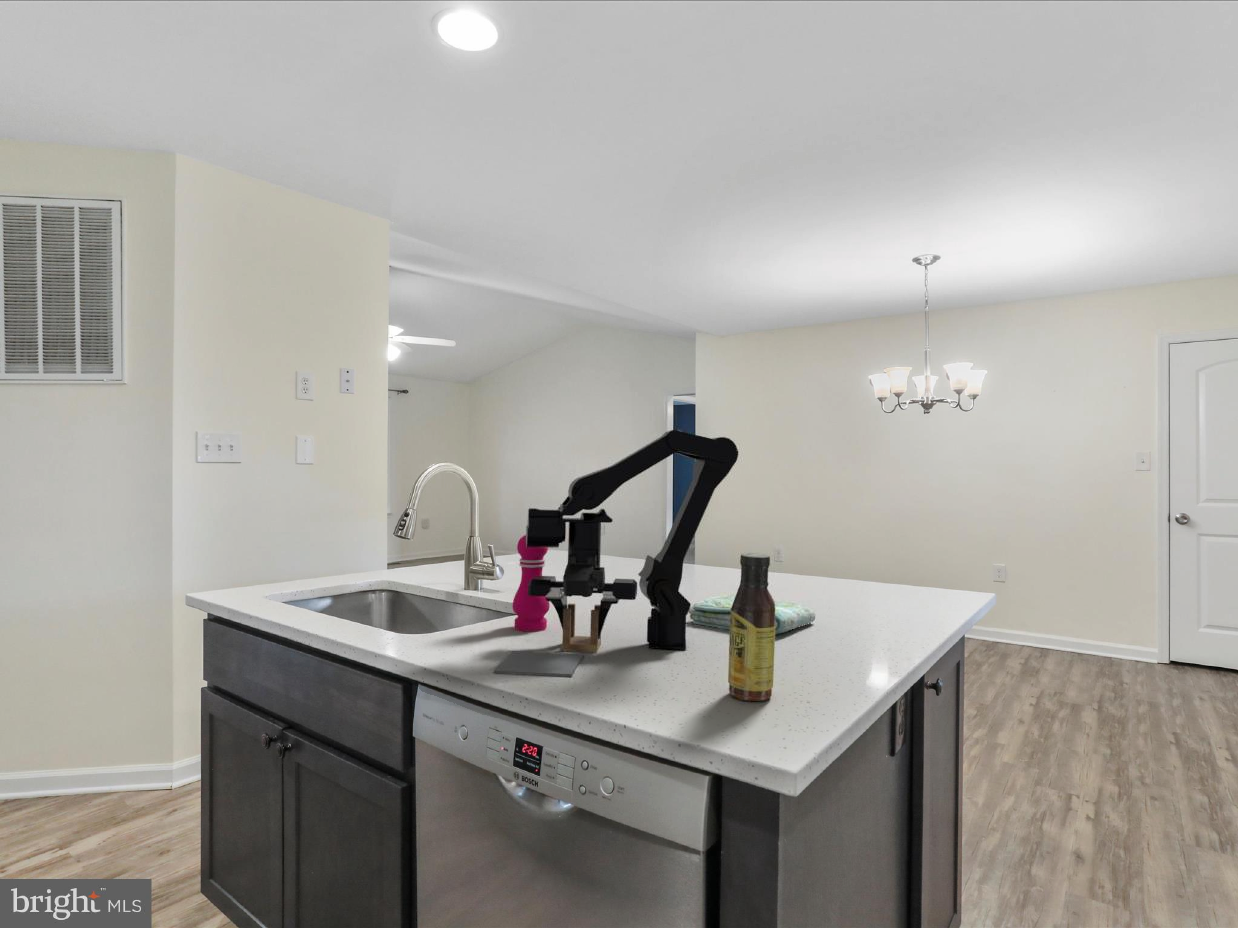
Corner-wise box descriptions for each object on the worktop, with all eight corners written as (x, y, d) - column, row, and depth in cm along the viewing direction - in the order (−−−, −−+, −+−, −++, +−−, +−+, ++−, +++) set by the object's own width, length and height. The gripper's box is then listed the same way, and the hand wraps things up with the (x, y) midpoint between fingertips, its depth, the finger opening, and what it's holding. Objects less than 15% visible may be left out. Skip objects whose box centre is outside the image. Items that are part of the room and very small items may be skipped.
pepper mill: (552, 624, 140) (554, 525, 140) (544, 632, 132) (547, 527, 133) (516, 623, 140) (519, 523, 141) (507, 631, 133) (510, 526, 133)
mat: (582, 656, 116) (582, 653, 116) (571, 676, 104) (571, 674, 104) (512, 652, 117) (512, 650, 117) (493, 672, 105) (493, 670, 105)
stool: (600, 643, 125) (601, 604, 125) (596, 652, 119) (597, 611, 119) (567, 642, 126) (568, 603, 126) (562, 650, 120) (563, 609, 120)
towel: (726, 612, 159) (726, 589, 159) (816, 625, 147) (817, 601, 147) (684, 624, 145) (685, 599, 145) (781, 641, 132) (781, 614, 132)
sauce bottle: (723, 689, 100) (726, 550, 100) (765, 689, 101) (768, 551, 101) (734, 704, 94) (737, 556, 94) (779, 704, 94) (782, 557, 94)
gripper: (521, 550, 115) (519, 645, 115) (634, 554, 114) (631, 650, 114) (535, 544, 127) (533, 630, 126) (638, 547, 125) (636, 634, 125)
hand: (582, 636), depth 122 cm, fingers closed on stool, 5 cm apart
